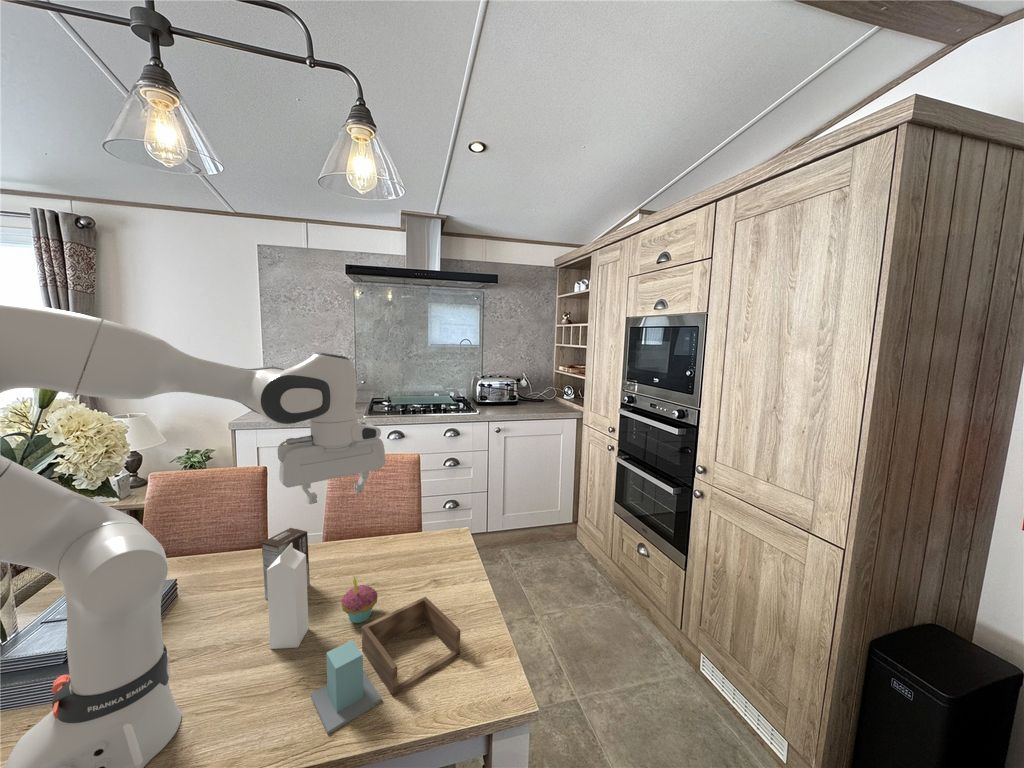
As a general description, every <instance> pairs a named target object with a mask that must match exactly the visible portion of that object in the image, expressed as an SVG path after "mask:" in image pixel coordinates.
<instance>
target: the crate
mask: <svg viewBox="0 0 1024 768" xmlns="http://www.w3.org/2000/svg"><path fill="white" fill-rule="evenodd" d="M423 624H425V626H426V627H428V629H429V630H430V631H431V632H432V633H433V634H434V635H435V636H436V637H437V638H438V639H439V640H440V642H442V644H444V646H445V647H446V648H447V649H448V650H449V651H450V653H449V654H447V655H445V656H443V657H441V658H440V659H438V660H437V661H435V662H434V663H432V664H430V665H428V666H427V667H425V668H424V669H422V670H421V671H419V672H417V673H415V674H413V676H411V677H409V678H407V679H405V680H404V681H403V682H401V683H399V684H398V665H397V663H396V662H395V661H394V659H393V658H392V657H391V656H390V655H389V653H388V652H387V650H386V649H385V648H384V646H383V645H385V644H386V643H388V642H390V641H392V640H394V639H396V638H398V637H400V636H401V635H403V634H406V633H407V632H409V631H411V630H413V629H414V628H417V627H419V626H420V625H423ZM361 651H362V652H361V653H362V654H363V655H364V656H365V658H366V659H367V660H368V662H369V664H370V665H371V667H372V668H373V670H374V671H375V673H376V674H377V676H378V677H379V679H380V680H381V682H382V683H383V685H384V686H385V688H386V689H387V690H388V692H389V694H390V695H391V697H395V696H396V695H398V694H399V693H401V692H403V691H404V690H406V689H407V688H410V686H413V685H414V684H416V683H418V682H419V681H421V680H422V679H424V678H425V677H426V676H429V675H430V674H431V673H433V672H435V671H436V670H438V669H440V668H442V667H443V666H444V665H446V664H447V663H450V661H452V660H454V659H456V658H457V657H459V656H460V655H461V629H460V628H459V626H457V625H456V624H455V623H454V622H453V621H452V620H451V619H450V618H449V617H448V616H447V615H446V614H444V612H443V611H441V610H440V609H439V608H438V607H437V606H436V605H435V604H434V603H433V602H432V601H431V600H430V599H429V598H427V596H423V597H421V598H419V599H417V600H415V601H413V602H411V603H409V604H407V605H404V606H403V607H401V608H398V609H395V610H394V611H392V612H389V613H388V614H385V615H384V616H382V617H379V618H377V619H375V620H373V621H371V622H368V623H367V624H363V626H361Z"/></svg>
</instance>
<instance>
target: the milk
mask: <svg viewBox="0 0 1024 768" xmlns="http://www.w3.org/2000/svg"><path fill="white" fill-rule="evenodd" d="M267 588H268V599H267V605H268V608H267V609H268V625H269V626H268V627H269V645H270V646H269V648H270V649H271V650H273V649H277V650H278V649H279V650H280V649H292V648H293V649H294V648H295V649H296V648H299V646H300V644H301V643H302V641H303V639H304V638H305V635H307V632H308V631H309V627H310V625H309V608H308V607H309V605H308V604H309V603H308V601H309V600H308V599H309V598H308V586H307V571H306V555H305V554H304V553H301V552H299V551H297V550H295V549H293V544H292V543H291V544H290V545H289V546H288V547H287V548H286V550H285V551H284V552H283V553H282V554H281V555H280V556H279V557H278V558H277V559H276V560H275V561H274V562H273V563H272V565H271V566H270V567H269V568H268V569H267Z"/></svg>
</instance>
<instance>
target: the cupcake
mask: <svg viewBox="0 0 1024 768" xmlns="http://www.w3.org/2000/svg"><path fill="white" fill-rule="evenodd" d="M352 583H353V588H350V589H349V590H348V591H346V592H345V593H344V595H343V596H342V598H341V610H342V611H343V612H344V613H345V614H347V615H348V618H349V620H350V622H352V623H353V624H354V623H355V624H359V623H364V622H365V621H367V620H369V618H370V616H371V613H372V611H373V608H374V606H375V605H376V604H377V602H378V592H377V591H376V590H375V589H374V588H373V587H371V586H369V585H358V582H357V578H356V577H355V576H354V575H353V578H352Z"/></svg>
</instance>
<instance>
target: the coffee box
mask: <svg viewBox="0 0 1024 768" xmlns="http://www.w3.org/2000/svg"><path fill="white" fill-rule="evenodd" d="M308 539H309V538H308V531H307V530H302V529H300V528H293V527H289V528H288V529H287V528H286V529H285V530H284V531H282V532H279V533H277V534H275V535H273V536H271V537H270V538H268V539H266V540H263V541H262V542H261V549H262V551H261V553H262V567H263V568H262V569H263V570H262V571H263V582H264V599H265V600H268V588H267V569H268V568H269V567H270V566H271V565H272V563H273V562H274V561H275V560H276V559H277V558H278V557H279V556H280V555H281V554H282V553H283V552H284V551H285V550H286V548H287V547H288V546H289V545H290V544H291V543H292V544H293V549H295V550H297V551H299V552H301V553H304V554H305V555H306V571H307V587H309V586H310V585H311V581H310V560H309V559H310V556H309V541H308Z"/></svg>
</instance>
